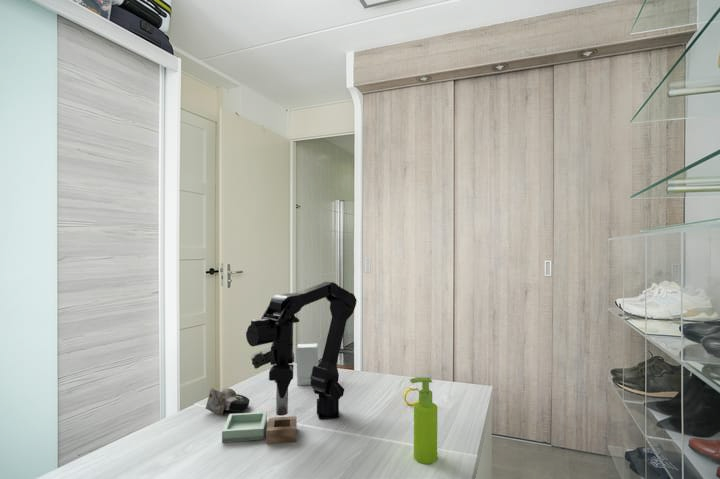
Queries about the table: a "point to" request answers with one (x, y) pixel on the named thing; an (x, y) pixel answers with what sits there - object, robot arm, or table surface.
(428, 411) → the soap dispenser
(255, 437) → the tray
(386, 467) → the table surface
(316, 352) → the skincare box
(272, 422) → the socket block
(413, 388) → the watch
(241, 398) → the caster wheel
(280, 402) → the pin
